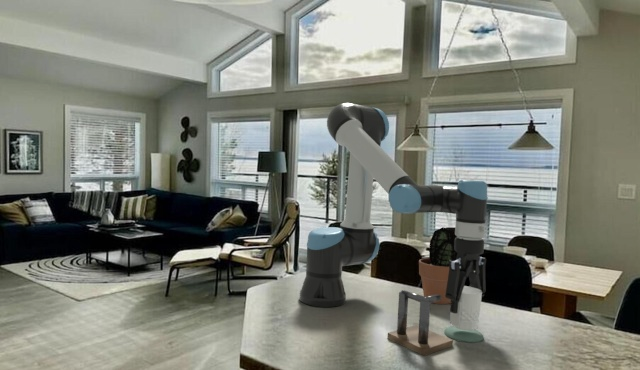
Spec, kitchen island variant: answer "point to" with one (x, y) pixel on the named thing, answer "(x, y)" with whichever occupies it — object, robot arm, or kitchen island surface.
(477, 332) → the end coaster
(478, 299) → the white cup
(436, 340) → the brown wooden board
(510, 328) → the kitchen island surface
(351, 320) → the kitchen island surface
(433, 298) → the bent wire
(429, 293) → the potted plant
